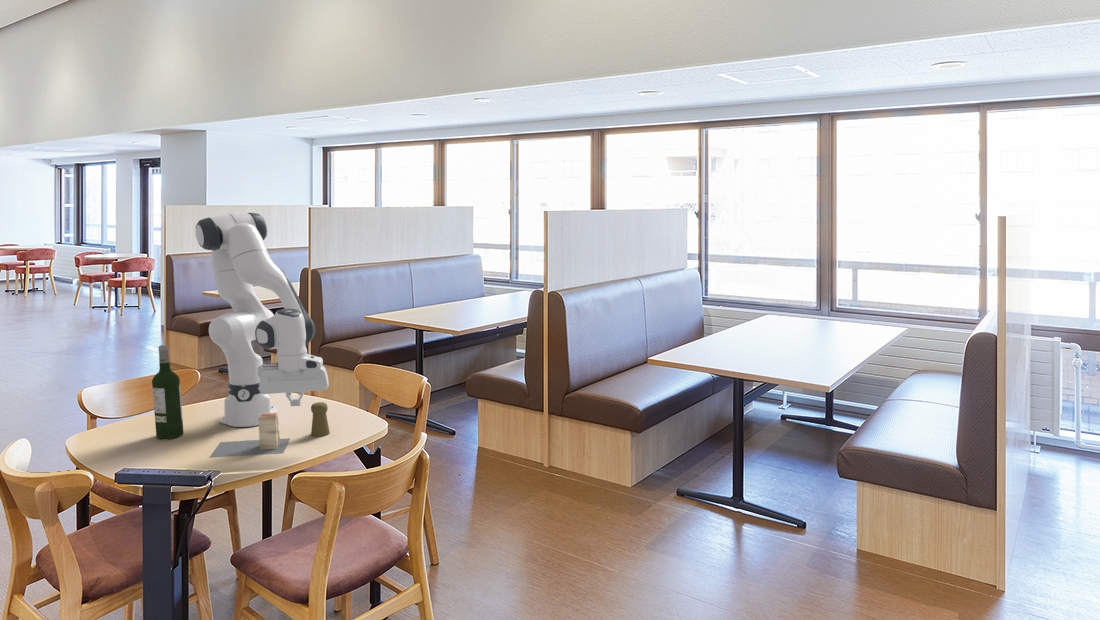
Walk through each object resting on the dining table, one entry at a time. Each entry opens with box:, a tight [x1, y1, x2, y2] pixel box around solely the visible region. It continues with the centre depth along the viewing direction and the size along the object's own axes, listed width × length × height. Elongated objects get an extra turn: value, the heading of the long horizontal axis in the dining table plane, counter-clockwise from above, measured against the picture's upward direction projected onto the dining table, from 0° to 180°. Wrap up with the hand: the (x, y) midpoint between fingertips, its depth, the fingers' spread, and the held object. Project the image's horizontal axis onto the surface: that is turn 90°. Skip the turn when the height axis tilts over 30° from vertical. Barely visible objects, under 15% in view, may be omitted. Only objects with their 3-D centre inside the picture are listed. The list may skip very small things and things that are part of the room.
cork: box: [310, 401, 331, 438], centre depth 242 cm, size 6×6×11 cm
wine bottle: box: [151, 344, 184, 440], centre depth 239 cm, size 8×8×30 cm
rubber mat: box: [209, 437, 291, 458], centre depth 229 cm, size 14×21×1 cm, turn 101°
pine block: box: [258, 412, 281, 450], centre depth 229 cm, size 5×5×10 cm
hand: (295, 405), depth 229 cm, fingers closed
